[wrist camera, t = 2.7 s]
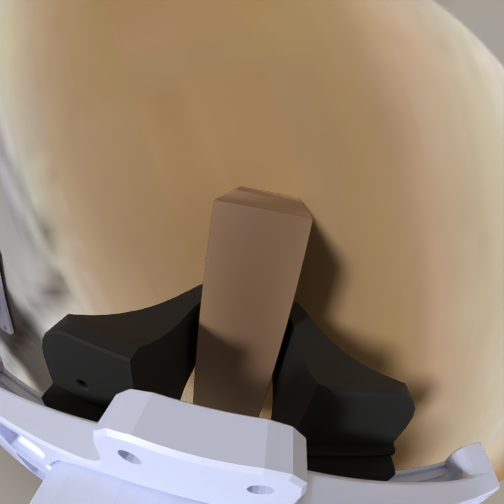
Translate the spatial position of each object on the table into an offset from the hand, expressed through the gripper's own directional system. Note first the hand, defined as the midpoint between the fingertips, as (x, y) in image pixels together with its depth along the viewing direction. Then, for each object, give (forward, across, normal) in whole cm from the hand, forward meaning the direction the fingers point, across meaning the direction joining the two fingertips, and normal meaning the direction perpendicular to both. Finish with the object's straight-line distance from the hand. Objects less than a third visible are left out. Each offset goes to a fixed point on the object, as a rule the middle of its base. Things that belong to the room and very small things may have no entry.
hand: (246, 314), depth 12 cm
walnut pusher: (+2, 0, 0) cm, 2 cm away
